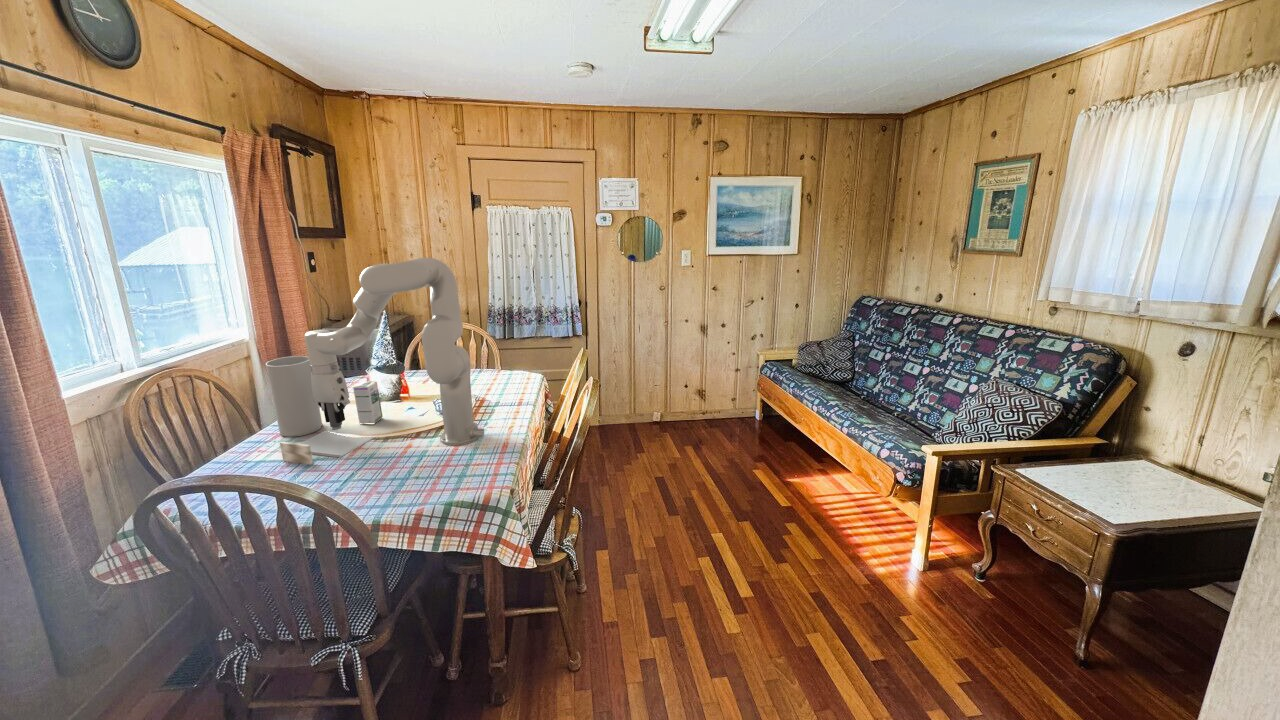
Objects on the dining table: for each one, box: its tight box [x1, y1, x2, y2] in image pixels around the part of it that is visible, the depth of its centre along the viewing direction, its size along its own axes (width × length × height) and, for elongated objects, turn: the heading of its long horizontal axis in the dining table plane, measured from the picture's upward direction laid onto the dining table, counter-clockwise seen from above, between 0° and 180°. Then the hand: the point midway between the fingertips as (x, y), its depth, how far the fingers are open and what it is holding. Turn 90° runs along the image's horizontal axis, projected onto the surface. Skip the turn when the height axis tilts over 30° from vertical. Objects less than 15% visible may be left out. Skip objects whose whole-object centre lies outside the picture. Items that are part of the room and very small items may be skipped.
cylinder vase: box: [265, 355, 323, 438], centre depth 174 cm, size 12×12×25 cm
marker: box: [326, 402, 343, 431], centre depth 169 cm, size 4×4×12 cm
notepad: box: [299, 430, 375, 459], centre depth 167 cm, size 20×16×1 cm
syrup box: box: [352, 380, 384, 424], centre depth 183 cm, size 6×6×14 cm
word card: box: [279, 441, 314, 465], centre depth 154 cm, size 10×1×6 cm, turn 77°
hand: (335, 420), depth 170 cm, fingers closed on marker, 3 cm apart
